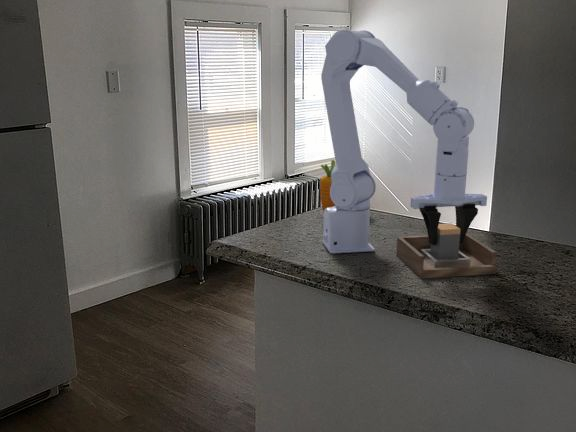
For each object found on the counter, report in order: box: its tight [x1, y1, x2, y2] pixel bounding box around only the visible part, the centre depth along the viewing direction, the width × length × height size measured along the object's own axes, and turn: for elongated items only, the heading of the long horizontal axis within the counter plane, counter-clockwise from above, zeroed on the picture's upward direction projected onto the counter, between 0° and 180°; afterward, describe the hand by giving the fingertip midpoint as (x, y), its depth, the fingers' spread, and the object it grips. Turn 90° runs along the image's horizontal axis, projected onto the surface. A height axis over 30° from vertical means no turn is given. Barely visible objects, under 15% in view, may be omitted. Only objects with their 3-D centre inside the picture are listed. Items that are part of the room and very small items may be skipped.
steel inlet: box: [420, 249, 471, 268], centre depth 120 cm, size 7×7×2 cm
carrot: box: [319, 160, 336, 213], centre depth 148 cm, size 5×5×15 cm
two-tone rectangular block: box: [430, 222, 460, 260], centre depth 120 cm, size 4×4×7 cm
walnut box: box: [396, 232, 498, 279], centre depth 120 cm, size 15×13×4 cm
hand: (445, 242), depth 119 cm, fingers open, 5 cm apart
